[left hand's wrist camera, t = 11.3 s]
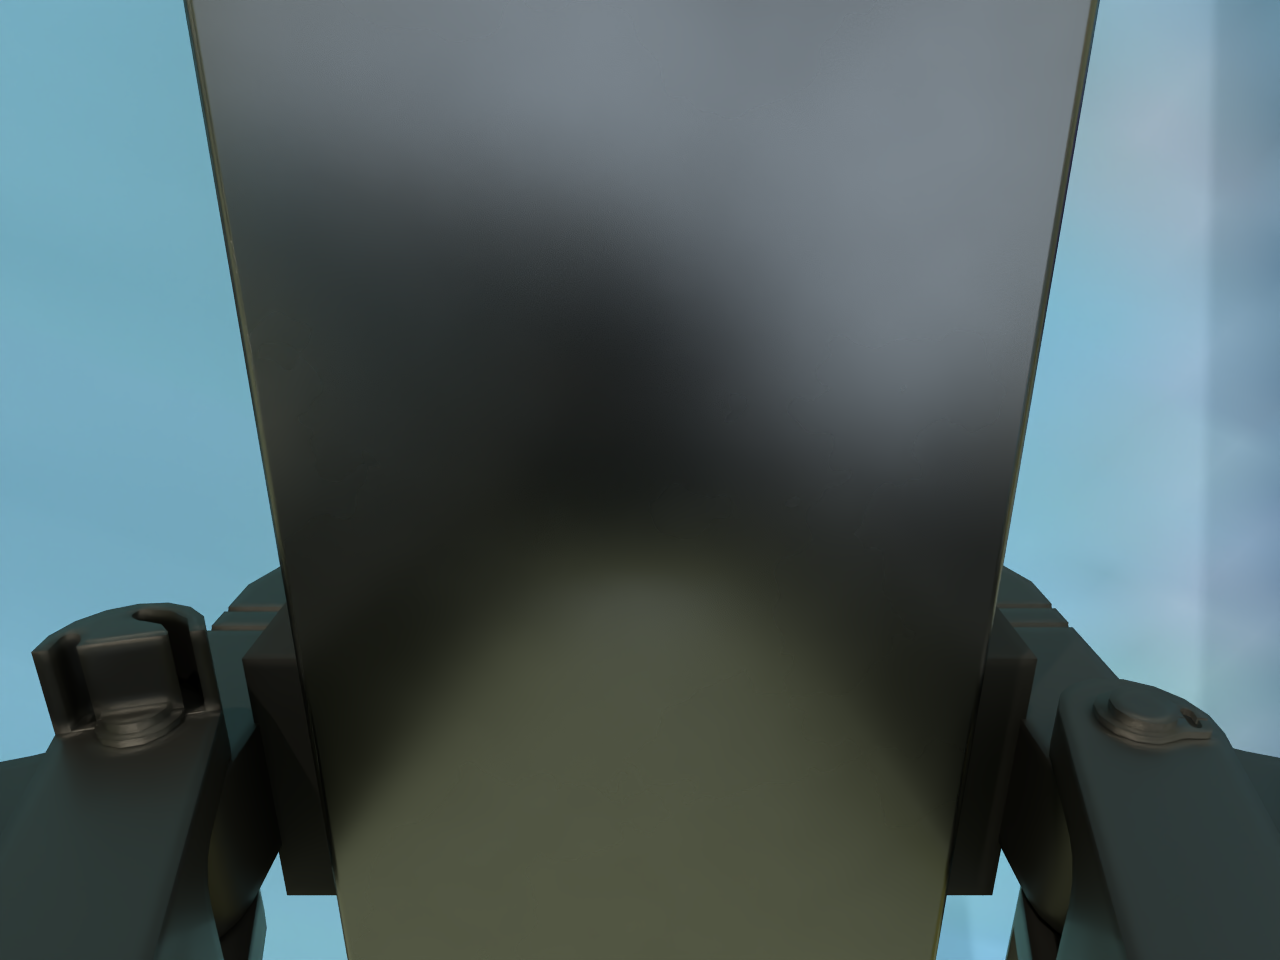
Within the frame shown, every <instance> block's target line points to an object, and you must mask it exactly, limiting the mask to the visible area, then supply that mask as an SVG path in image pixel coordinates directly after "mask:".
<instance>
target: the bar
mask: <svg viewBox="0 0 1280 960" xmlns="http://www.w3.org/2000/svg"><path fill="white" fill-rule="evenodd" d="M183 1H184V7H185V13H186V19H187V25H188V30H189V36H190V42H191V48H192V54H193V60H194V65H195V71H196V77H197V83H198V89H199V95H200V100H201V106H202V112H203V118H204V124H205V130H206V135H207V141H208V147H209V153H210V159H211V165H212V170H213V176H214V182H215V188H216V194H217V200H218V205H219V211H220V217H221V223H222V229H223V235H224V241H225V246H226V252H227V258H228V264H229V270H230V276H231V281H232V287H233V293H234V299H235V305H236V311H237V316H238V322H239V328H240V334H241V340H242V346H243V351H244V357H245V363H246V369H247V375H248V381H249V386H250V392H251V398H252V404H253V410H254V416H255V421H256V427H257V433H258V439H259V445H260V451H261V456H262V462H263V468H264V474H265V480H266V486H267V491H268V497H269V503H270V509H271V515H272V521H273V526H274V532H275V538H276V544H277V550H278V556H279V562H280V567H281V573H282V579H283V585H284V591H285V597H286V602H287V608H288V614H289V620H290V626H291V632H292V637H293V643H294V649H295V655H296V661H297V667H298V672H299V678H300V684H301V690H302V696H303V702H304V707H305V713H306V719H307V725H308V731H309V737H310V742H311V748H312V754H313V760H314V766H315V772H316V777H317V783H318V789H319V795H320V801H321V807H322V813H323V818H324V824H325V830H326V836H327V842H328V848H329V853H330V859H331V865H332V871H333V877H334V883H335V888H336V894H337V900H338V906H339V912H340V918H341V923H342V929H343V935H344V941H345V947H346V953H347V958H348V960H936V955H937V949H938V943H939V937H940V931H941V925H942V920H943V914H944V908H945V902H946V896H947V890H948V885H949V879H950V873H951V867H952V861H953V855H954V849H955V844H956V838H957V832H958V826H959V820H960V814H961V809H962V803H963V797H964V791H965V785H966V779H967V773H968V768H969V762H970V756H971V750H972V744H973V738H974V733H975V727H976V721H977V715H978V709H979V703H980V697H981V692H982V686H983V680H984V674H985V668H986V662H987V657H988V651H989V645H990V639H991V633H992V627H993V622H994V616H995V610H996V604H997V598H998V592H999V586H1000V581H1001V575H1002V569H1003V563H1004V557H1005V551H1006V545H1007V540H1008V534H1009V528H1010V522H1011V516H1012V510H1013V505H1014V499H1015V493H1016V487H1017V481H1018V475H1019V470H1020V464H1021V458H1022V452H1023V446H1024V440H1025V434H1026V429H1027V423H1028V417H1029V411H1030V405H1031V399H1032V394H1033V388H1034V382H1035V376H1036V370H1037V364H1038V358H1039V353H1040V347H1041V341H1042V335H1043V329H1044V323H1045V318H1046V312H1047V306H1048V300H1049V294H1050V288H1051V282H1052V277H1053V271H1054V265H1055V259H1056V253H1057V247H1058V242H1059V236H1060V230H1061V224H1062V218H1063V212H1064V206H1065V201H1066V195H1067V189H1068V183H1069V177H1070V171H1071V166H1072V160H1073V154H1074V148H1075V142H1076V136H1077V130H1078V125H1079V119H1080V113H1081V107H1082V101H1083V95H1084V90H1085V84H1086V78H1087V72H1088V66H1089V60H1090V54H1091V49H1092V43H1093V37H1094V31H1095V25H1096V19H1097V14H1098V8H1099V2H1100V0H183Z"/></svg>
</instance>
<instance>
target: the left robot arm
mask: <svg viewBox="0 0 1280 960" xmlns="http://www.w3.org/2000/svg"><path fill="white" fill-rule="evenodd" d="M1051 605H1052V604H1051V603H1050V602H1049V601H1048V599H1047V598H1046V597H1045V596H1044V595H1043V594H1042V593H1041V592H1040V591H1039V589H1038V588H1037V587H1036V586H1035V585H1034V584H1033V583H1032V582H1031V581H1029V580H1028V579H1026V578H1024V577H1022V576H1021V575H1019V574H1017V573H1015V572H1014V571H1012V570H1010V569H1008V568H1007V567H1005V566H1003V569H1002V575H1001V581H1000V586H999V592H998V598H997V604H996V610H995V616H994V622H993V627H992V633H991V639H990V645H989V651H988V657H987V662H986V668H985V674H984V680H983V686H982V692H981V697H980V703H979V709H978V715H977V721H976V727H975V733H974V738H973V744H972V750H971V756H970V762H969V768H968V773H967V779H966V785H965V791H964V797H963V803H962V809H961V814H960V820H959V826H958V832H957V838H956V844H955V849H954V855H953V861H952V867H951V873H950V879H949V885H948V890H947V895H992V894H993V889H994V883H995V878H996V873H997V868H998V862H999V857H1000V852H1001V849H1002V850H1003V852H1004V854H1005V856H1006V858H1007V860H1008V862H1009V864H1010V866H1011V868H1012V870H1013V872H1014V874H1015V876H1016V878H1017V880H1018V882H1019V883H1020V885H1021V887H1020V891H1019V896H1018V901H1017V906H1016V911H1015V916H1014V920H1013V925H1012V930H1011V935H1010V940H1009V945H1008V950H1007V954H1006V959H1005V960H1280V758H1277V757H1272V756H1267V755H1261V754H1256V753H1251V752H1246V751H1242V750H1238V749H1234V748H1232V746H1231V744H1230V742H1229V740H1228V738H1227V737H1226V735H1225V733H1224V732H1223V731H1222V730H1221V729H1220V727H1219V726H1218V725H1217V724H1216V723H1215V722H1214V720H1213V719H1212V718H1211V717H1210V716H1209V715H1208V714H1206V713H1205V712H1203V711H1202V710H1200V709H1199V708H1197V707H1196V706H1194V705H1192V704H1191V703H1189V702H1188V701H1186V700H1185V699H1183V698H1180V697H1178V696H1176V695H1173V694H1171V693H1168V692H1166V691H1164V690H1161V689H1159V688H1156V687H1154V686H1150V685H1145V684H1141V683H1137V682H1132V681H1128V680H1124V679H1119V678H1118V677H1117V676H1116V675H1115V674H1114V673H1113V672H1112V671H1111V669H1110V668H1109V667H1108V666H1107V665H1106V664H1105V663H1104V662H1103V661H1102V659H1101V658H1100V657H1099V656H1098V655H1097V654H1096V653H1095V652H1094V651H1093V649H1092V648H1091V647H1090V646H1089V645H1088V644H1087V643H1086V642H1085V641H1084V639H1083V638H1082V637H1081V636H1080V635H1079V634H1078V633H1077V632H1076V631H1075V629H1074V628H1073V627H1068V622H1067V621H1066V619H1065V618H1064V617H1063V616H1062V615H1061V614H1060V613H1059V612H1058V611H1057V609H1056V608H1052V607H1051ZM228 608H229V610H228V612H224V613H223V614H222V615H221V616H220V617H219V618H218V619H217V621H216V622H215V623H214V624H213V625H212V630H211V631H207V630H206V625H205V620H204V616H203V615H201V614H200V613H198V612H197V611H196V610H194V609H193V608H191V607H188V606H183V605H178V604H172V603H149V604H136V605H131V606H126V607H121V608H116V609H111V610H106V611H103V612H100V613H98V614H95V615H92V616H89V617H86V618H83V619H80V620H78V621H75V622H73V623H71V624H69V625H68V626H66V627H64V628H62V629H60V630H59V631H57V632H55V633H53V634H51V635H49V636H48V637H47V638H46V639H45V640H44V641H43V642H42V643H41V644H40V645H38V646H37V647H36V648H35V649H34V650H33V651H32V652H31V653H32V656H33V660H34V663H35V667H36V670H37V673H38V677H39V680H40V684H41V687H42V691H43V694H44V697H45V701H46V704H47V708H48V711H49V714H50V718H51V721H52V725H53V728H54V732H55V736H54V738H53V740H52V742H51V744H50V746H49V747H48V749H47V751H46V753H42V754H38V755H34V756H29V757H24V758H19V759H14V760H9V761H3V762H0V960H262V958H263V950H264V943H265V936H266V929H267V927H266V919H265V912H264V906H263V901H262V896H261V891H260V887H261V885H262V883H263V881H264V879H265V877H266V875H267V873H268V871H269V869H270V868H271V866H272V864H273V862H274V860H275V858H276V856H277V854H278V852H279V855H280V860H281V866H282V871H283V876H284V881H285V886H286V892H287V895H337V894H336V888H335V883H334V877H333V871H332V865H331V859H330V853H329V848H328V842H327V836H326V830H325V824H324V818H323V813H322V807H321V801H320V795H319V789H318V783H317V777H316V772H315V766H314V760H313V754H312V748H311V742H310V737H309V731H308V725H307V719H306V713H305V707H304V702H303V696H302V690H301V684H300V678H299V672H298V667H297V661H296V655H295V649H294V643H293V637H292V632H291V626H290V620H289V614H288V608H287V602H286V597H285V591H284V585H283V579H282V573H281V567H279V568H277V569H275V570H273V571H272V572H270V573H268V574H266V575H265V576H263V577H261V578H259V579H258V580H256V581H254V582H252V583H251V584H249V585H248V586H247V587H246V588H245V589H244V590H243V591H242V593H241V594H240V595H239V596H238V597H237V598H236V599H235V600H234V602H233V603H232V604H231V605H230V606H229V607H228Z"/></svg>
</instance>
